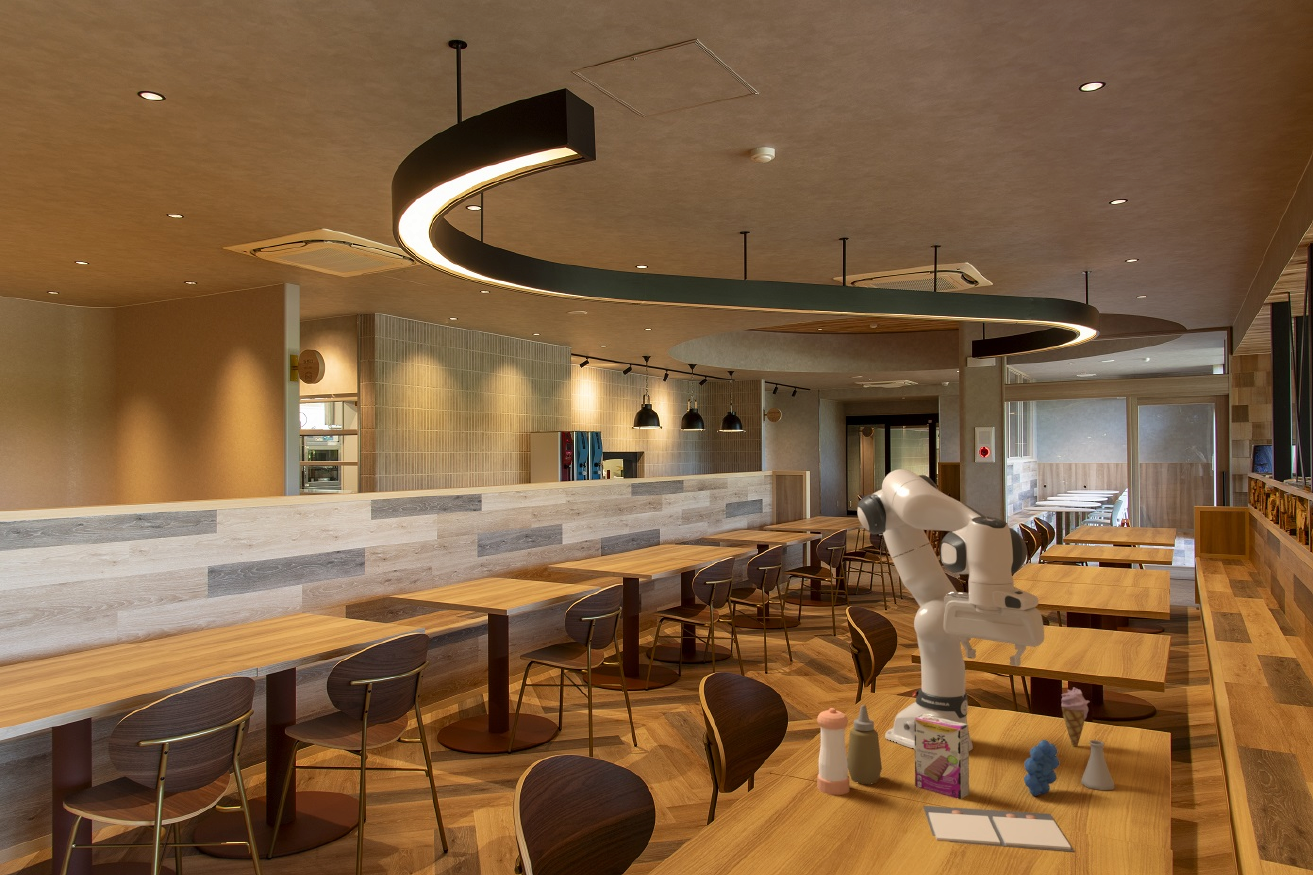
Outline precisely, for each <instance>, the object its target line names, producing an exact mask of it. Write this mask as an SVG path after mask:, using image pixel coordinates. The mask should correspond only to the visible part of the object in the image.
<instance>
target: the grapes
mask: <svg viewBox="0 0 1313 875" xmlns="http://www.w3.org/2000/svg"><path fill="white" fill-rule="evenodd" d="M1029 755H1030V757H1028V758H1027V759H1026V760H1024V764H1023V765H1024V766H1023V767H1024V769H1025V772H1027V774H1026V775H1025V776H1024V777H1023V781H1024V784H1025V785H1026V787H1027V788H1028V790H1029V793H1030V794H1031V796H1034V797H1037V796H1039V795H1040V794H1041V795H1045V794H1047V793H1048V792H1049V791H1050V790H1051V787H1050V786H1051V785H1052V784H1053V783H1055V781H1057V779H1058V778H1057V774H1056V772H1055V770H1056V769H1058V767H1059V766H1060V765H1061V764H1060V759H1059V758H1058V756H1057V755H1058V748H1057V747H1056V745H1055V744H1054V743H1050V742H1049V741H1048V740H1047V739H1042V740H1041V741H1039V742H1038V744H1037V745H1035V746H1033V747H1031V749H1030V750H1029ZM1050 784H1051V785H1050Z"/></svg>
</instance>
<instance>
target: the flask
mask: <svg viewBox="0 0 1313 875" xmlns="http://www.w3.org/2000/svg"><path fill="white" fill-rule="evenodd" d="M1089 745H1090V755H1089V757H1088V761H1087V764H1086V767H1085V769H1084V772H1083V775H1082V776H1081V782H1080V784H1082V785H1084V786H1085V787H1086V788H1088V789H1091V790H1092V789H1094V790H1099V791H1112V790H1115V783H1114V780H1113V778H1112V776H1111V773H1110V770H1109V767H1108V765H1107V762H1106V759H1105V755H1104V747H1105V742H1103V741H1102V740H1096V739H1094V740H1093V739H1092V740H1091V739H1089Z"/></svg>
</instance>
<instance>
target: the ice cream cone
mask: <svg viewBox="0 0 1313 875" xmlns="http://www.w3.org/2000/svg"><path fill="white" fill-rule="evenodd" d="M1066 690H1067V692H1066V693H1062V694H1061V697H1062V698H1061V705H1060V706H1061V711H1062V715H1063V719H1064V722H1065V727H1066V729H1067V734H1068V737H1069V740H1070V743H1071V746H1073V747H1078V746H1079V742H1080V740H1081V736H1082V732H1083V729H1084V724H1085V721H1086V719H1087V716H1088V712H1089V707H1088V704H1089V703H1090V702H1091V701H1090V700H1088V699H1087V700H1086V699H1085V697H1084V695H1083V692H1082V690H1081V689H1078V688H1077V687H1072V689H1066Z"/></svg>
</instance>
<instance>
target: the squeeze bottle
mask: <svg viewBox="0 0 1313 875" xmlns="http://www.w3.org/2000/svg"><path fill="white" fill-rule="evenodd" d="M848 738H849V739H848V746H847V747H848V749H847V760H848V774H849V776H850V779H851V781H852V782H854V783H856V782H858V783H857V784H860V783H863V784H862V785H872V784H871V783H874V784H876V783H875V782H877V783H878V781H879V779H880V775H881V772H882V769H883V767H882V758H881V749H880V740H879V733H878V732H877V730H875V723H874V720H873V719H870V718H869V714H868V710H867V706H866V705H863V704H862V705H860V709H859V714H858V717H857V718H856V719H853V728H852V729H850V730H849V736H848Z"/></svg>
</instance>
